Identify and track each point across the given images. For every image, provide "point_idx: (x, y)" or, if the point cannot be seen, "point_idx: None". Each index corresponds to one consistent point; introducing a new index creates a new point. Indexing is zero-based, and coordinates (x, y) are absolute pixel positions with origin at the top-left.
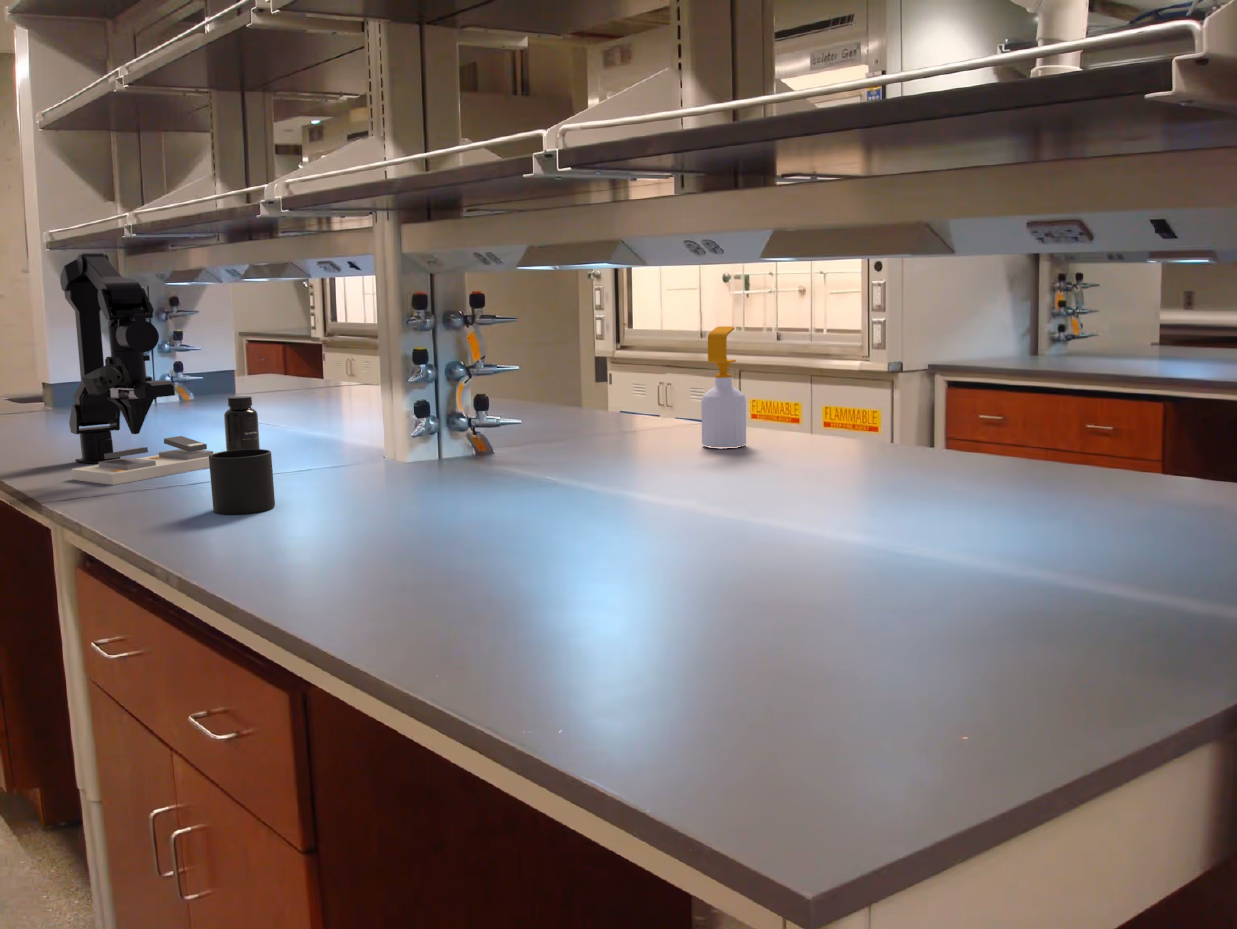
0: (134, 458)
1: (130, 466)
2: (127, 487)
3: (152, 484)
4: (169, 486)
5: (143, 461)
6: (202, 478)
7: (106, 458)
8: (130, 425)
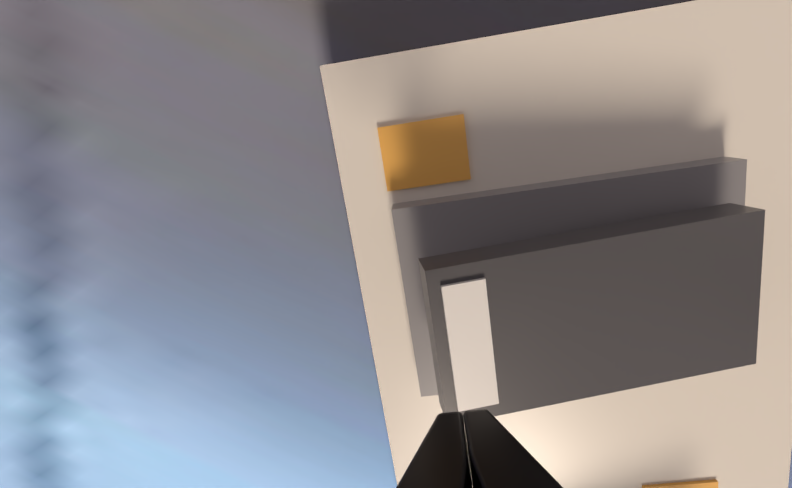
0: None
1: (394, 228)
2: (194, 89)
3: (183, 215)
4: (57, 237)
5: None
6: (163, 426)
7: (711, 208)
8: (476, 467)
